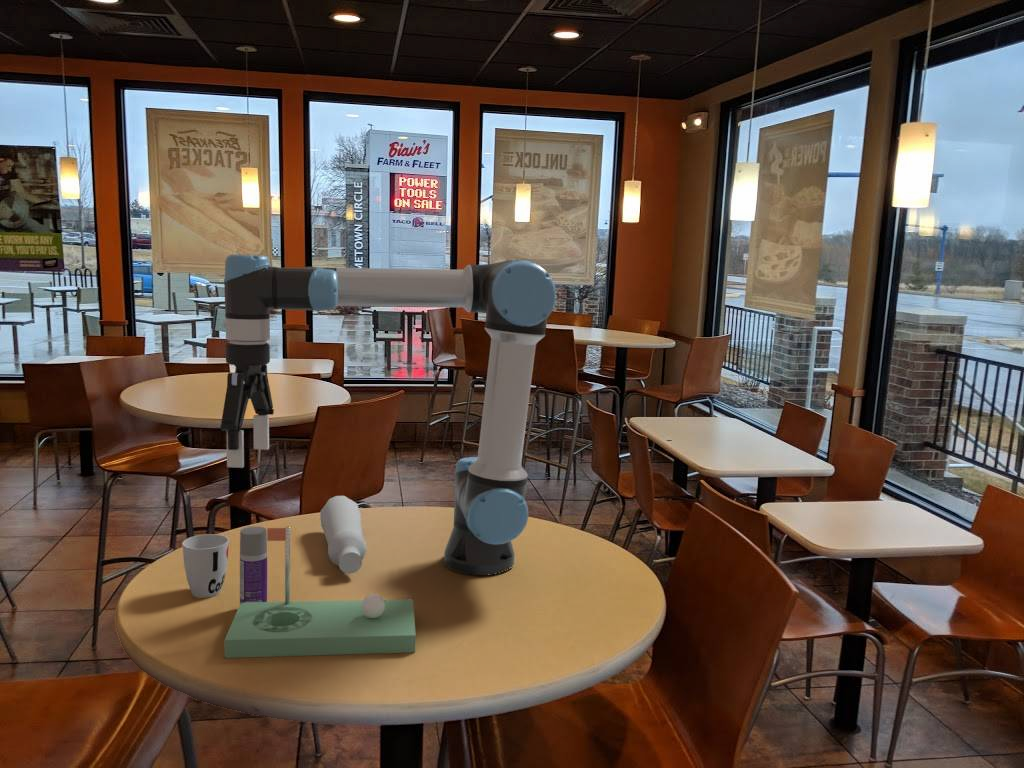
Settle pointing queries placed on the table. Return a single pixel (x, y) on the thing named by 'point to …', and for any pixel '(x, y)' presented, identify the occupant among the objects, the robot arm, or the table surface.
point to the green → (319, 629)
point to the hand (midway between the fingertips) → (249, 457)
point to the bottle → (343, 533)
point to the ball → (373, 606)
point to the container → (253, 564)
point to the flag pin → (284, 535)
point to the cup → (205, 563)
